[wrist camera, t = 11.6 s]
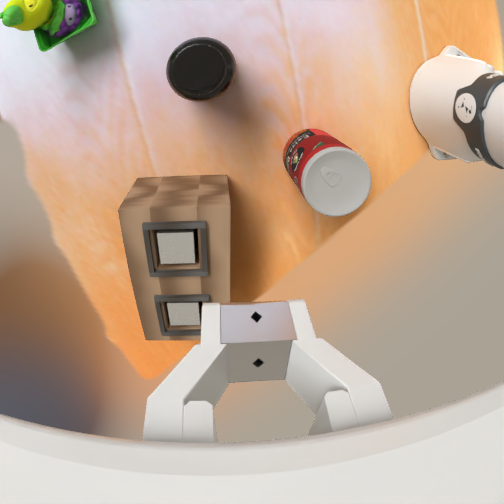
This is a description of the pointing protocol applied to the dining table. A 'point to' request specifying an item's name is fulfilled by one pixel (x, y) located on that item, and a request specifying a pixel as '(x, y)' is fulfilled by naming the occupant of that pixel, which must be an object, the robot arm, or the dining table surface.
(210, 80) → the supplement bottle
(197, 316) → the peg
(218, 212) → the socket block
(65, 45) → the dining table surface
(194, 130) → the dining table surface
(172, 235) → the peg
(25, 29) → the fruit basket
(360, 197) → the canned food
